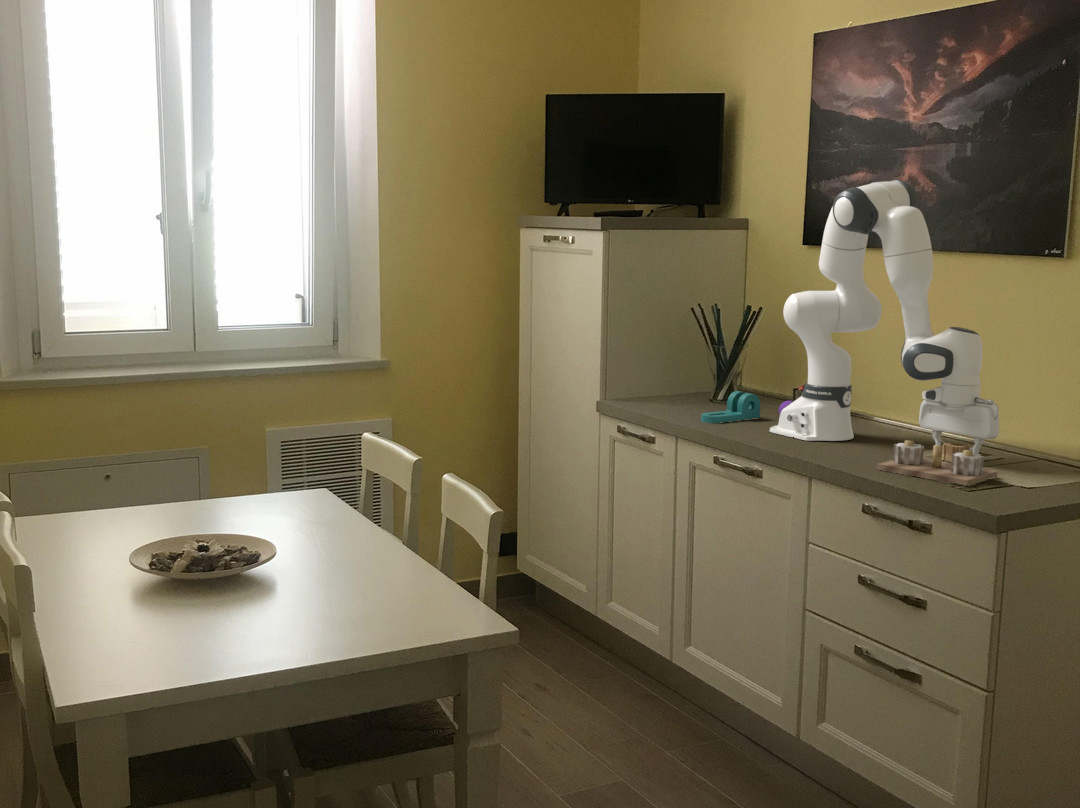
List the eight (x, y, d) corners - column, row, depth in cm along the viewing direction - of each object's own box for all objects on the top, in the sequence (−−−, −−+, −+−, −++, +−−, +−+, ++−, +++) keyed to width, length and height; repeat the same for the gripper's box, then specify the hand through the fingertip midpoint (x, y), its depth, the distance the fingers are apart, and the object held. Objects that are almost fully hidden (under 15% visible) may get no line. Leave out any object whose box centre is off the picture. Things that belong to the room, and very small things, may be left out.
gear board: (876, 470, 259) (878, 442, 258) (908, 461, 268) (910, 435, 267) (967, 487, 243) (969, 457, 242) (997, 477, 252) (999, 449, 251)
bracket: (744, 416, 330) (745, 390, 329) (759, 419, 325) (760, 393, 323) (696, 421, 321) (697, 394, 320) (711, 425, 316) (712, 397, 314)
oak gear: (936, 460, 270) (937, 444, 269) (950, 456, 274) (951, 440, 274) (962, 464, 265) (963, 448, 264) (975, 461, 269) (977, 444, 269)
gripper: (1007, 399, 260) (1003, 458, 262) (933, 389, 277) (929, 444, 279) (990, 401, 256) (986, 460, 258) (916, 391, 273) (913, 446, 275)
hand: (956, 452), depth 269 cm, fingers open, 8 cm apart
